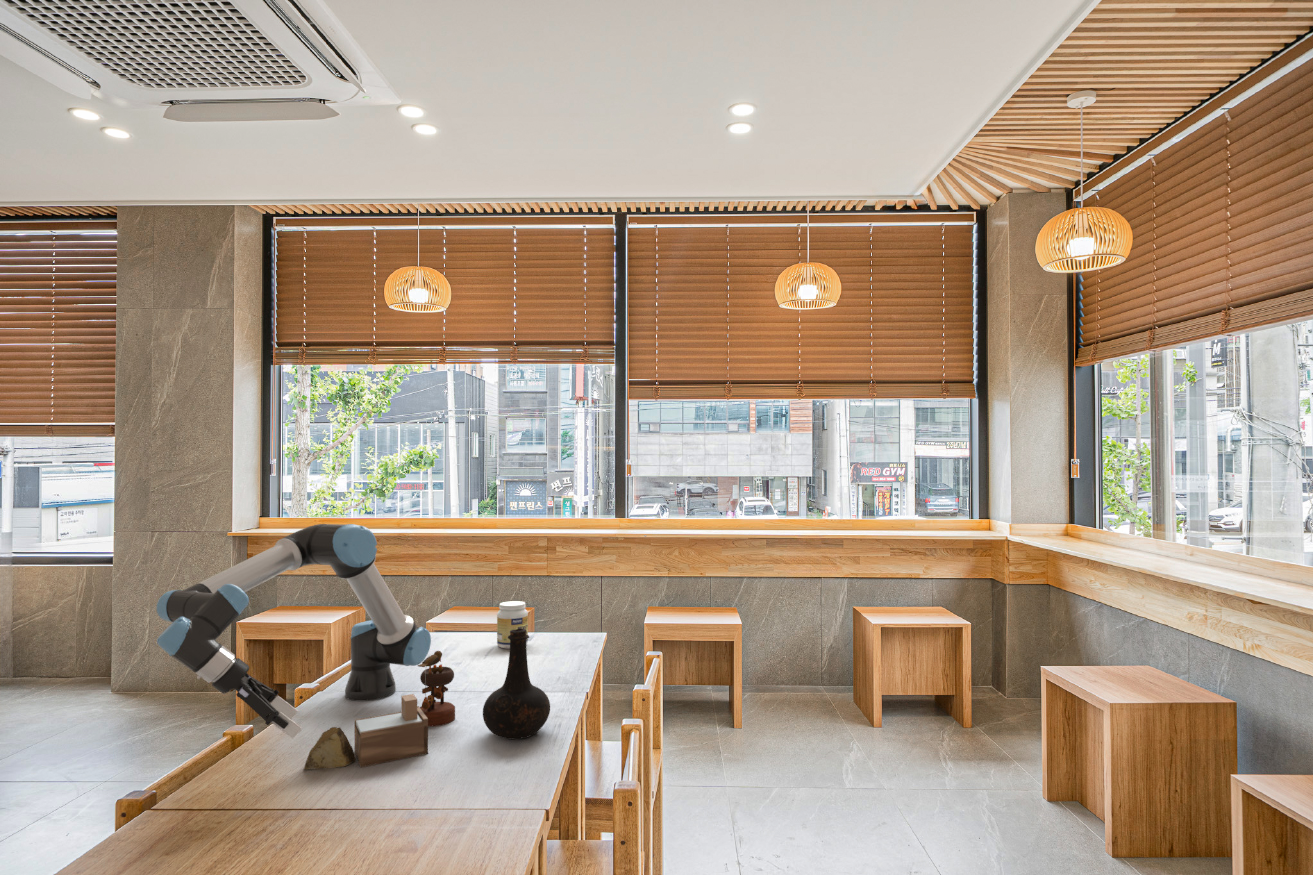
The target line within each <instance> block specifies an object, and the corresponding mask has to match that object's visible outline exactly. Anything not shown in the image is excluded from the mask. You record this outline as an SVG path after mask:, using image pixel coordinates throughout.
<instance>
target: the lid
mask: <svg viewBox="0 0 1313 875" xmlns="http://www.w3.org/2000/svg"><path fill="white" fill-rule="evenodd" d="M400 698H401V704H400V705H401V710H400V712H401V713H397V714H392V715H386V716H380V717H374V718H369V719H363V720H357V721H356V726H357V728H358V730H359V733H360V732H365V731H371V730H376V729H382V728H387V727H393V726H398V725H404V724H409V723H415V722H420V721H422V720H421V718H420V717H419V715H418V714H417V706H418V698H417V696H415V694H414V693H411V694H406V695H401V697H400Z"/></svg>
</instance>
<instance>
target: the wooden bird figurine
mask: <svg viewBox="0 0 1313 875" xmlns="http://www.w3.org/2000/svg"><path fill="white" fill-rule="evenodd" d="M442 656H443V653H442V651H441V650H435V651H434V653H433V654H431V655H428V657H426V658H425V659H424V660H423V661H422V662H421V663H420V664H418V665H417V667H419V668H420V667H421V668H425V669H424V670H422V672H421V674H420V678H419V679H420V682H421V684H423V685H424V686H425V687H424V688H422V689H421V694H424V695H425V696H424V698H423V700H422V703H421V706H419V707H420V709H421V710H422V711H423V713H424V714H425V715H426V717H427V718H428V727H439V726H444V725H448V724H450V723H452V722H453V721H455V719H456V707H455V705H454V704H453V703H451V702H449V701H445V693H446V692H447V691H449V689H448V687H447V685H449V684H450V683H451V682H453V680H454V678H455V673H454V672H455V671H454V670H453V669H452V668H451V667H449V666H443V664H442V663H441V662H442V661H441V660H442ZM439 662H440V663H441V664H439V665H438V666H437V664H438V663H439ZM427 667H428V668H427ZM427 693H430V694H429V695H428V696H427ZM436 699H437V700H440V701H437V700H436Z"/></svg>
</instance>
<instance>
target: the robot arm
mask: <svg viewBox="0 0 1313 875" xmlns="http://www.w3.org/2000/svg"><path fill="white" fill-rule="evenodd" d="M377 545H378V543H377V539H376V536H375V534H374V533H373V532H372V531H371V529H369V528H368V527H366V526H365V525H359V524H353V523H349V524H348V523H347V524H337V523H336V524H335V523H334V524H332V523H331V524H330V523H318V524H314V525H310V526H308V527H305V528H302V529H300V530H297V531H295V532H293V533H291V534H287V535H286V536H284V537H282V538H280V539H278V540H277V541H276V542H275V544H274V546H272V547H270V548H267V549H266V550H264V551H262V552H260V553H258V554H256V555H253V556H251V557H249V558H247V559H245V560H243V561H241V562H239V563H238V564H234V565H233V566H231V567H228V568H227V569H225V570H223V571H220V572H219V573H216V574H214V575H212V576H210V577H208V578H206V579H204V580H201V581H199V582H198V583H195V584H193V585H192V586H188V587H187V588H184V589H174V590H168V591H166V592H165V593H163V594H162V595H161V596H160V598H159V599H158V601H157V604H156V608H155V609H156V613H157V616H159V618H160V619H161V620H163V621H166V622H170V623H171V624H170V625H169V626H168V627H166V628H165V629H164V630H163V631H162V632H161V633H160V635H159V636H158V638H156V639H157V640H156V643H157V645H158V646H159V647H160V648H161V649H162V650H163V651H164V652H165V653H166V654H168V655H169V656H170V657H172V658H174V659H175V660H176V661H178V662H179V663H180V664H182V665H184V666H185V667H187V669H189V670H191V671H192V672H193V673H195V674H196V678H197V679H198V680H200V679H202V680H204V681H205V682H207V683H211V682H212V683H211V685H212V688H215V689H216V690H217V691H218V692H220V693H221V694H227V693H229V692H230V691H231V690H235V691H236V692H237V693H236V694H235V695H236V697H237V698H239V699H241V701H242V702H244V703H245V704H246V705H247V706H249V707H250V708H251V709H252V710H253V711H254V712H255V713H256V714H257V715H259V717H261V718H262V719H263V720H264V721H265V723H264V724H265V725H267V726H269V725H270V724H272V725H274V726H275V727H276V728H277V729H279V730H281V731H282V732H283V733H285V734H286V735H287V736H288V737H290V738H291V739H294V738H295V737H296V736H297V735H298V734H299V733H300V732H301V731H302V730H303V726H302V727H301V725H299V724H298V723H296V722H295V721H294V720H292V719H293V718H294V717H295V716H296V715H297V714H298V713H299V710H298V709H296V707H294V706H292V705H291V704H290V703H289V702H287V701H286V700H285V699H283V698H282V697H281V696H279V695H278V694H279V693H280V692H279V690H277V689H275V690H274V689H273V688H271V687H269V686H268V685H266V684H264V683H263V682H261V681H259V680H258V679H256V678H255V677H252V676H251V675H250V674H249V673H248V672H249V670H250V665H249V664H248V663H246V662H244V661H243V660H242V659H241V658H239V657H236V654H234V653H233V652H232V651H231V650H229V649H228V648H227V647H225V646H224V645H222V644H221V643H219V642H218V641H217V639H218V638H219V637H220V636H221V635H222V634H223V632H225V630H226V629H228V627H229V626H230V625H232V623H233V622H234V621H235V620H237V618H239V616H241V613H243V611H244V610H245V608H247V607H248V605H249V602H250V598H249V596H248V595H247V593H246V592H248V591H250V590H252V589H254V588H255V587H258V586H259V585H262V584H263V583H265V582H267V581H269V580H271V579H274V577H275V578H276V577H277V576H279V575H280V574H283V573H284V572H286V571H296V570H298V569H300V568H302V567H305V566H310V565H319V566H321V565H322V566H329V567H330V568H332V569H333V571H334V573H335V575H336V576H337V577H338V578H339V579H340V580H346V581H347V583H348V584H349V586H350V588H351V589H352V591H353V593H354V594H355V596H356V597H357V598H358V600H359V602H360V604H361V605H362V607H363V609H364V611H365V612H366V613H367V615H368V617H369V618H370V620H366V621H362V622H358V623H356V624H354V625H353V626H352V627H351V633H350V635H351V636H350V673H349V676H348V680H347V683H346V685H345V690H344V697H345V698H346V699H347V700H350V701H359V702H360V701H361V702H363V701H373V700H378V699H379V700H380V699H383V698H386V697H389V696H391V695H393V694H394V693H395V692H396V690H397V689H396V688H397V687H396V685H397V684H396V681H395V678H394V675H393V672H392V669H391V665H397V666H406V667H411V666H414V667H415V666H418V665H420V664H422V662H423V661H424V660H425V659H426V658H427V656H428V654H429V652H430V649H431V644H432V636H431V633H430V631H429V629H427V628H425V627H423V626H420V627H418V626H417V624H416V623H415V621H414V619H413V617H412V616H410V615H409V614H404V612H403V610H402V609H401V607H400V605H399V603H398V602H397V600H396V598H395V597H394V594H393V593H392V592H391V589H390V588H389V587H388V585H387V583H386V582H385V580H384V578H383V576H382V575H381V573H380V571H379V569H378V568H377V566H376V564H375V562H376V559H377V550H378V548H377Z"/></svg>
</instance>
